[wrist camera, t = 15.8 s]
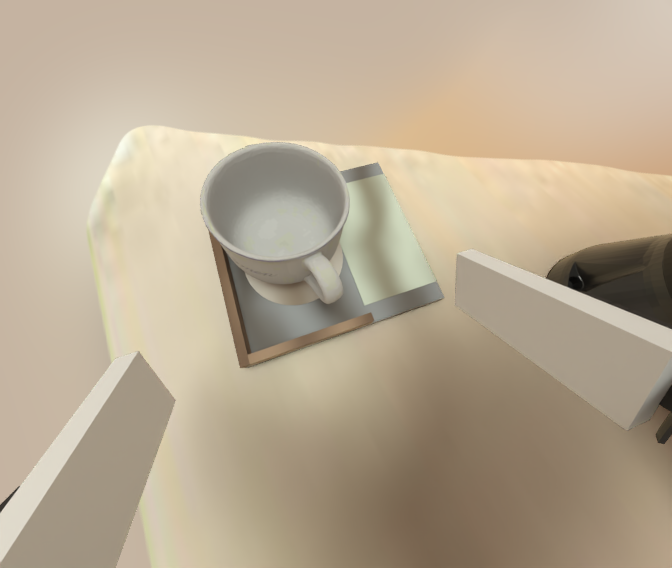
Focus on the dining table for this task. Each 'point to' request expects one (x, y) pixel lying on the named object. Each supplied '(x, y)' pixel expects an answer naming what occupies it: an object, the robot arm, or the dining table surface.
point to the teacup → (279, 214)
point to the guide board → (355, 274)
